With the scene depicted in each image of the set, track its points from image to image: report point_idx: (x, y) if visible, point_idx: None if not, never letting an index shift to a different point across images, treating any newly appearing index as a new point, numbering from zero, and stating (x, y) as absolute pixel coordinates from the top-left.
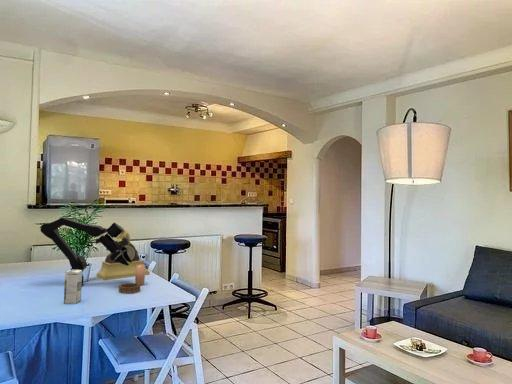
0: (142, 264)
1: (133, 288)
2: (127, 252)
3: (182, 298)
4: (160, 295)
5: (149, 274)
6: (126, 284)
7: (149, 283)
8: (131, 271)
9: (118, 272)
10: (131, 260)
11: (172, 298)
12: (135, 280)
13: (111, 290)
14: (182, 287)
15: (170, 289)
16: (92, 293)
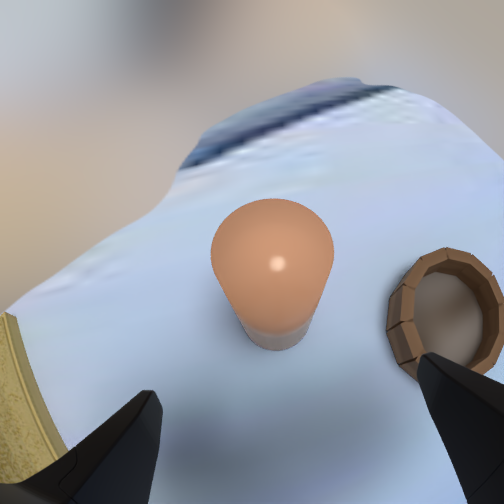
0: (216, 237)
1: (485, 272)
2: (7, 484)
3: (444, 110)
4: (451, 165)
5: (15, 317)
6: None
7: None
8: (21, 414)
9: None
10: (143, 399)
11: (459, 132)
12: (298, 337)
13: (440, 438)
14: (303, 113)
15: (351, 142)
16: None
